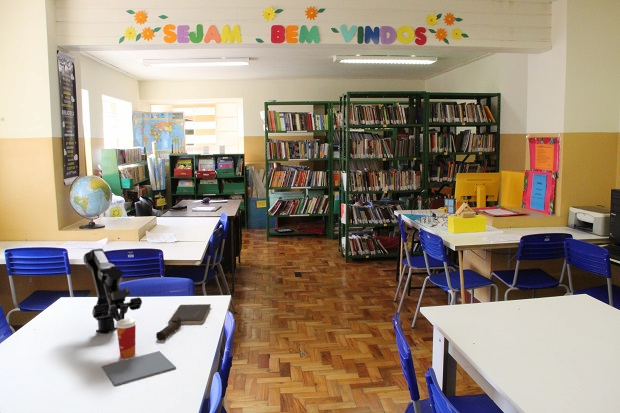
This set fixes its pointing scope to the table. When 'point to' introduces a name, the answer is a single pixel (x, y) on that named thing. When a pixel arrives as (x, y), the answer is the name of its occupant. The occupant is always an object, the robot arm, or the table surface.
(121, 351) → the paper cup
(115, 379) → the mat
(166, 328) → the brown wooden branch
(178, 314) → the hardcover book
